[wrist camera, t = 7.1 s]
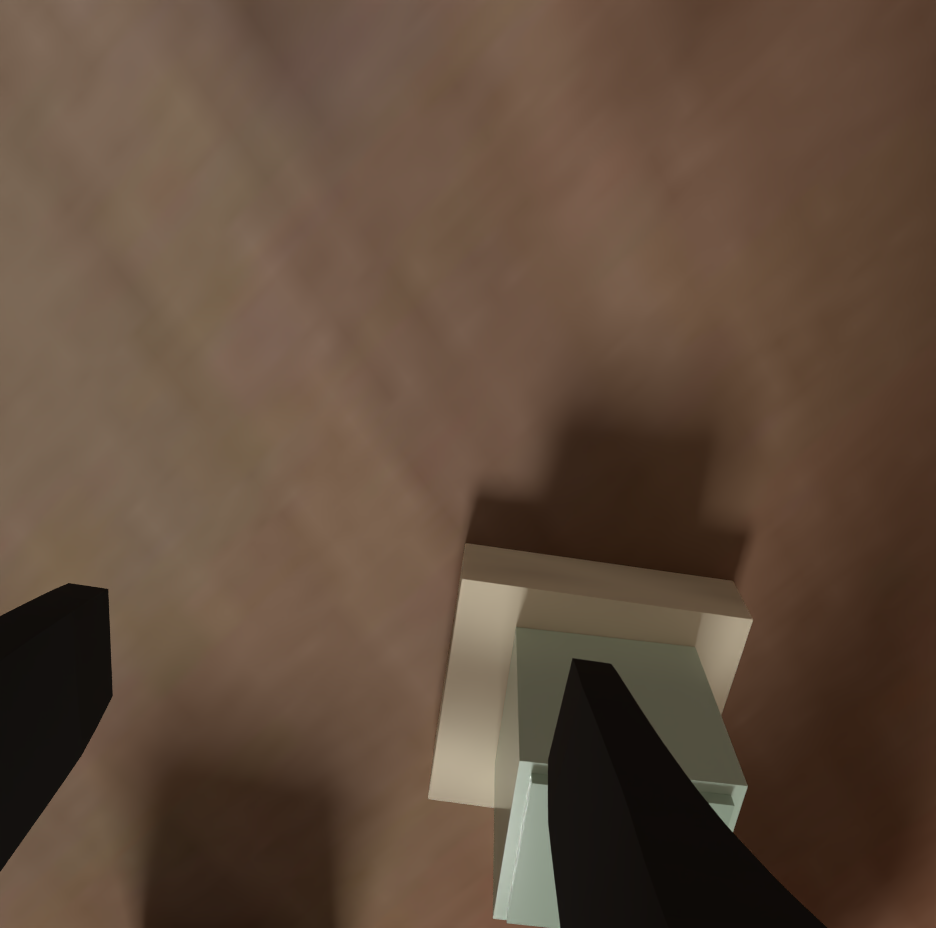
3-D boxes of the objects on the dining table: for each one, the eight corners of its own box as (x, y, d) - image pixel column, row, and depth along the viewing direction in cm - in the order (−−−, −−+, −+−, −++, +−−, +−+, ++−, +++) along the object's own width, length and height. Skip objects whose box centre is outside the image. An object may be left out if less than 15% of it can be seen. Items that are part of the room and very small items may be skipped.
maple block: (666, 773, 26) (681, 833, 24) (434, 741, 26) (428, 798, 24) (728, 572, 23) (753, 619, 21) (466, 535, 23) (461, 578, 21)
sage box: (658, 782, 23) (700, 953, 19) (494, 764, 23) (492, 929, 19) (695, 646, 21) (751, 797, 17) (515, 626, 21) (519, 771, 17)
